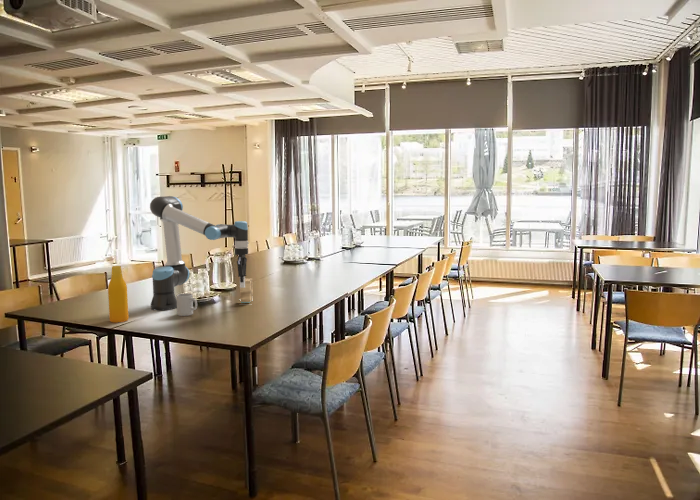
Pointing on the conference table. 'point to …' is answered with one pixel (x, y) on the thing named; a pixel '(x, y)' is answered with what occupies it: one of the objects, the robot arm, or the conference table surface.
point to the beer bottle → (117, 297)
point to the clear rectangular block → (247, 292)
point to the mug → (185, 304)
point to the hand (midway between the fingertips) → (242, 287)
